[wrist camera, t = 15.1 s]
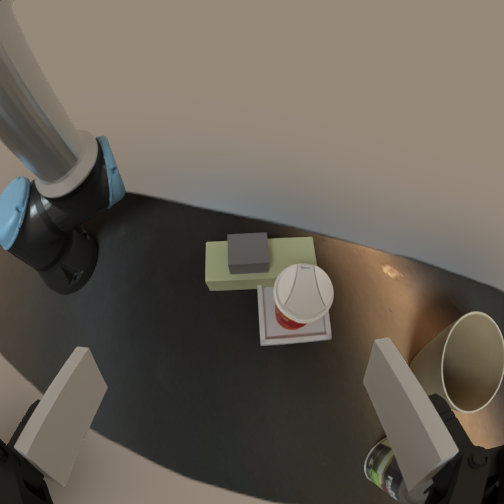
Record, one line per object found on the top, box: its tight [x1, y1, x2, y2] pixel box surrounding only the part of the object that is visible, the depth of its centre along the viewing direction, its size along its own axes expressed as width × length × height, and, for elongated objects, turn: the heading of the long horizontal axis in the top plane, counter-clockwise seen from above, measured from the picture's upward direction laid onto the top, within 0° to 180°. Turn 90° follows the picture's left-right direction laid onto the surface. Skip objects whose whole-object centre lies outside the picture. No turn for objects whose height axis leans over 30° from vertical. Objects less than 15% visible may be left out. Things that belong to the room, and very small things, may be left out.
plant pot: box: [409, 312, 504, 413], centre depth 33 cm, size 15×15×16 cm
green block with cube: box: [205, 232, 332, 346], centre depth 43 cm, size 20×17×9 cm
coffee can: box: [364, 437, 434, 504], centre depth 27 cm, size 10×10×14 cm
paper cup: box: [273, 263, 334, 330], centre depth 39 cm, size 8×8×14 cm
